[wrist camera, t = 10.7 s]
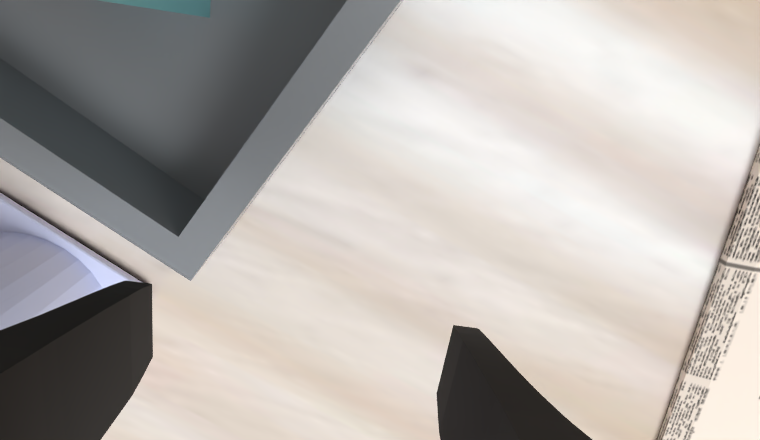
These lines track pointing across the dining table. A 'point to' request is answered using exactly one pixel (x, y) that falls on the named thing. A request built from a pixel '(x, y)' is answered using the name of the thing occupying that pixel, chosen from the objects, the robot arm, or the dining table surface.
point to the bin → (170, 106)
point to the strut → (172, 5)
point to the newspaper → (725, 341)
